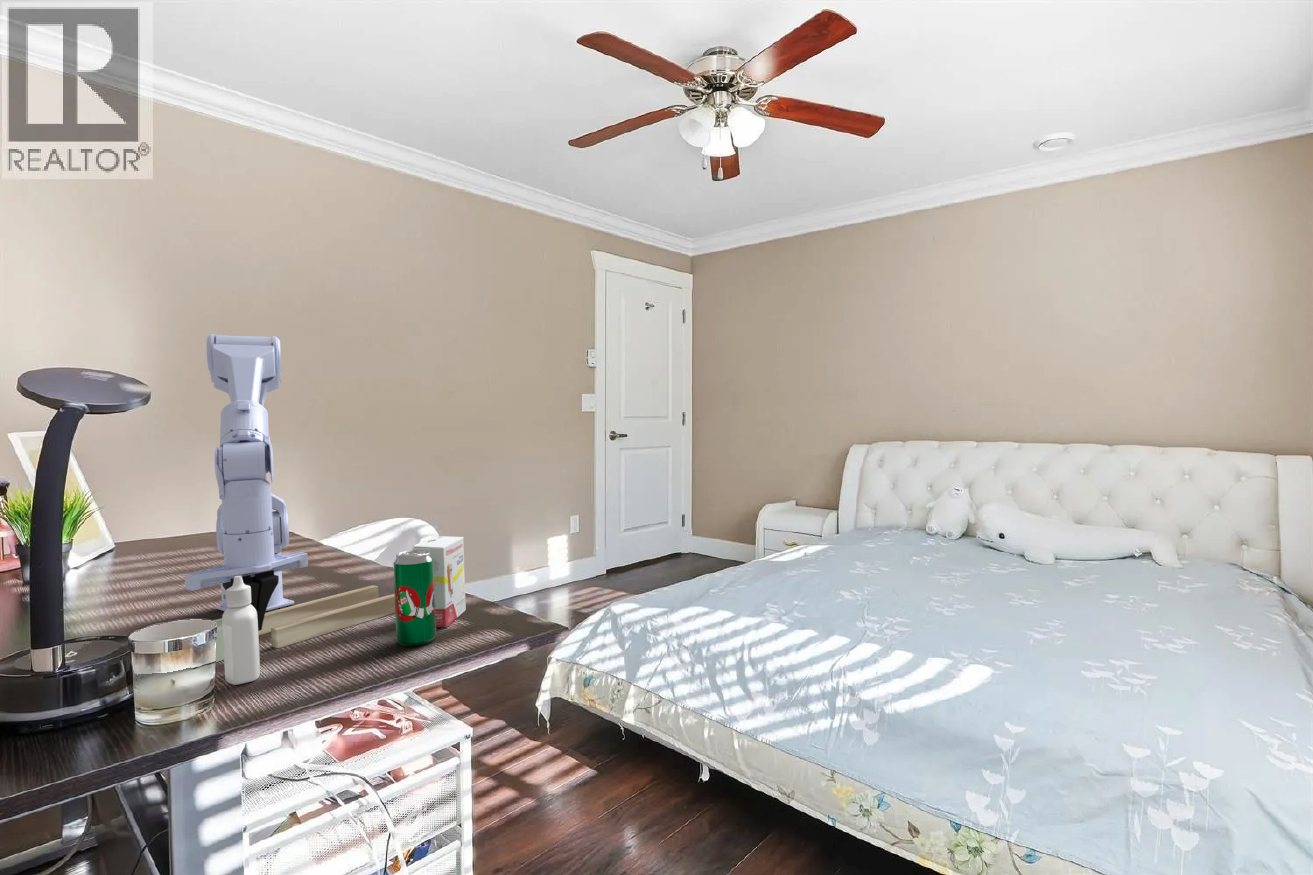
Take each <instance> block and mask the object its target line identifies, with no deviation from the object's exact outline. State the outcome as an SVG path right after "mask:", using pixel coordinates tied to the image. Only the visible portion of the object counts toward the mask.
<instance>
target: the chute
mask: <svg viewBox="0 0 1313 875" xmlns="http://www.w3.org/2000/svg"><path fill="white" fill-rule="evenodd" d="M392 614H395V594H394V593H392V594H388V595H385V596H381V597H380V591H379V586H378V585H373V584H372V585H368V586H365V587H361V588H360V587H359V588H357V589H353V590H349V591H345V592H341V593H338V594H333V595H329V596H326V597H322V598H318V599H313V600H309V601H306V602H302V603H298V604H295V605H294V604H293V605H289V606H288V607H287V606H285V607H281V608H280V609H279V608H277V609H274V610H270V611H268V612H267V611H266V612H265V616H264V620H263V625H262V630H260V631H258V636H261V635H265V634H269V633H270V634H271V635H270V638H271V647H273V648H275V649H280V648H284V647H287V646H290V645H293V644H296V643H302V642H304V641H307V640H310V639H313V638H317V637H320V636H323V635H324V636H325V635H326V634H330V633H332V632H336V631H339V630H343V629H346V628H349V627H353V626H356V625H358V624H362V623H366V622H369V621H371V620H377V619H378V618H381V617H385V616H388V615H392Z"/></svg>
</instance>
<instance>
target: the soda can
mask: <svg viewBox="0 0 1313 875" xmlns="http://www.w3.org/2000/svg"><path fill="white" fill-rule="evenodd" d="M395 557H396V558H395V559H394V561H393V564H392V566H393V567H392V568H393V587H394V589H393V590H394V592H393V594H395V613H394V614H395V616H394V617H395V618H394V620H395V637H396V638H395V640H396V641H397V643H398V644H399V645H401V646H403V647H406V648H407V647H409V648H410V647H420V646H424V645H427V644H429V643H431V642H432V641H434V639H435V638H436V636H437V627H436V613H435V586H434V560H433V558H432V557H431V555H430V551H428V550H412V549H411V550H406V551H405V550H404V551H402V552H398V553H396V554H395Z"/></svg>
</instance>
